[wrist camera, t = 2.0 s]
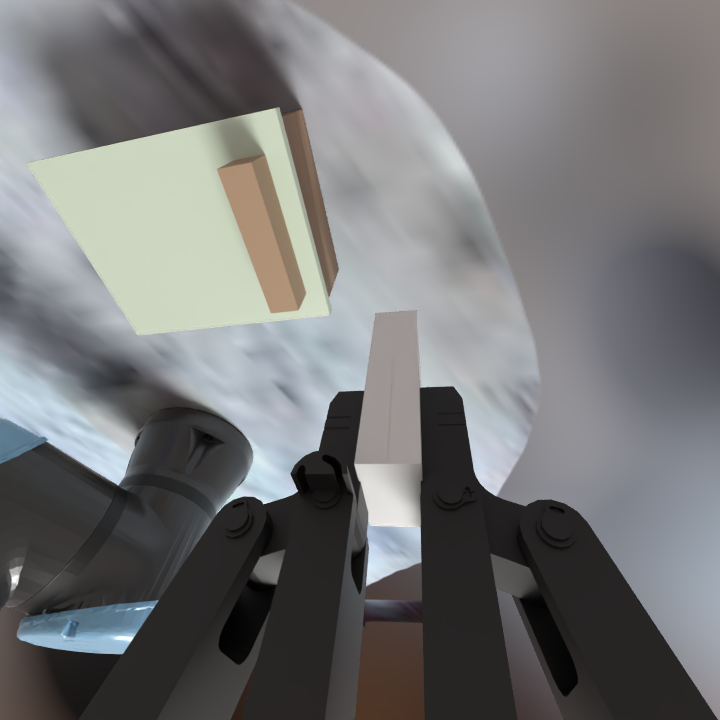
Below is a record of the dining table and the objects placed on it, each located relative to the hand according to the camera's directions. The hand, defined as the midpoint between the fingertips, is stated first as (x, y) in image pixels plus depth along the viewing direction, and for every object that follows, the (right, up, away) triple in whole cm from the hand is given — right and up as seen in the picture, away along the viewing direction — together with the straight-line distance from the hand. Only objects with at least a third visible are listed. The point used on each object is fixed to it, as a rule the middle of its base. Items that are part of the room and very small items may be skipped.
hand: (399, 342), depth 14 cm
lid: (-13, +8, +12) cm, 19 cm away
